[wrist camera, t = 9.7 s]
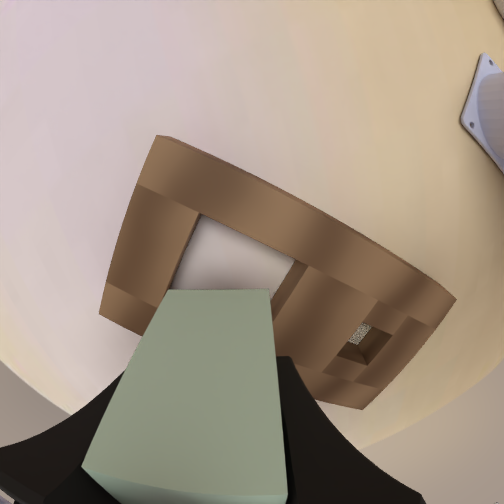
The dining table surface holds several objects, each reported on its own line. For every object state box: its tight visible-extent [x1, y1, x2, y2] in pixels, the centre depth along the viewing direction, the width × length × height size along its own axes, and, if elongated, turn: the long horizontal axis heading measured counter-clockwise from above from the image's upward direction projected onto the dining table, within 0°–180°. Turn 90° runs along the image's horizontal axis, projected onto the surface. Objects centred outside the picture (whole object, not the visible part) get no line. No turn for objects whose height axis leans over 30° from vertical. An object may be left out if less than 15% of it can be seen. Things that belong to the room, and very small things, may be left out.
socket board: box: [99, 135, 457, 410], centre depth 18 cm, size 22×12×2 cm, turn 63°
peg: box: [81, 289, 288, 504], centre depth 8 cm, size 4×4×8 cm
